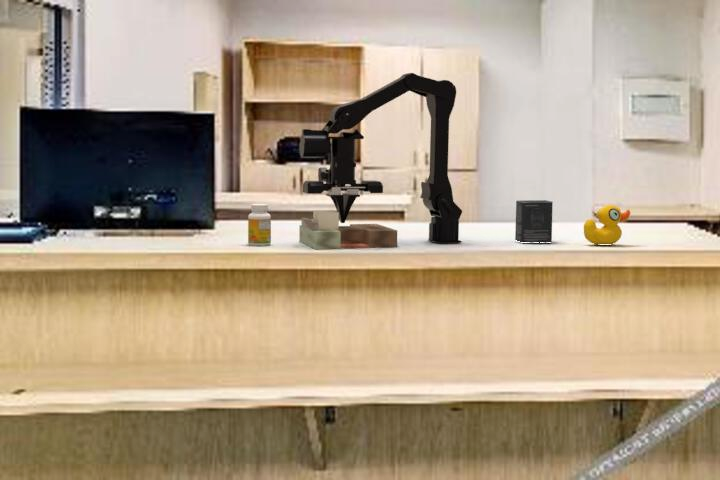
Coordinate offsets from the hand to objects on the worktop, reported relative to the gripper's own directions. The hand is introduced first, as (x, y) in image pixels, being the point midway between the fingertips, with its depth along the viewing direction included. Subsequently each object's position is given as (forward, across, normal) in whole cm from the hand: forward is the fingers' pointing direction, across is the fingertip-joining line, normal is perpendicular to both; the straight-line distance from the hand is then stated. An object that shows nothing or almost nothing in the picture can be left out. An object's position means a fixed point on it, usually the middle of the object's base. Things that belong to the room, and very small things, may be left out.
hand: (342, 222), depth 226 cm
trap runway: (+5, -1, 0) cm, 5 cm away
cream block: (+1, +4, 0) cm, 4 cm away
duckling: (+5, -63, +15) cm, 65 cm away
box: (+5, -48, +6) cm, 49 cm away
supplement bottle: (+5, +20, -3) cm, 21 cm away
